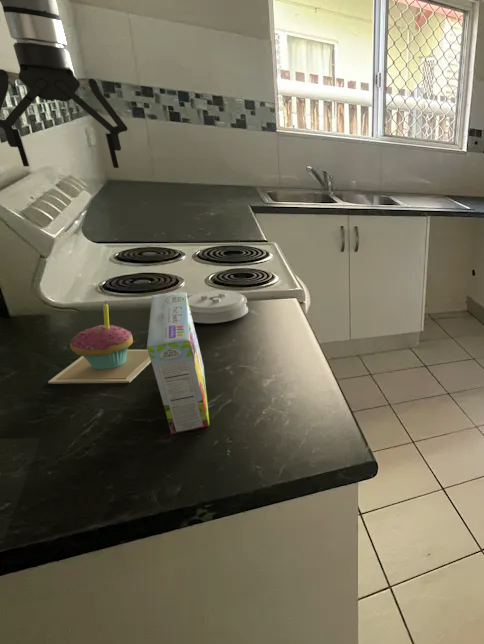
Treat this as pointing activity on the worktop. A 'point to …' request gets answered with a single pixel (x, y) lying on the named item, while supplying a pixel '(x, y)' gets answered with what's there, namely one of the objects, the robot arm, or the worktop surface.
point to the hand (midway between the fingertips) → (73, 166)
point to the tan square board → (104, 370)
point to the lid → (217, 306)
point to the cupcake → (103, 344)
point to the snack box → (177, 362)
